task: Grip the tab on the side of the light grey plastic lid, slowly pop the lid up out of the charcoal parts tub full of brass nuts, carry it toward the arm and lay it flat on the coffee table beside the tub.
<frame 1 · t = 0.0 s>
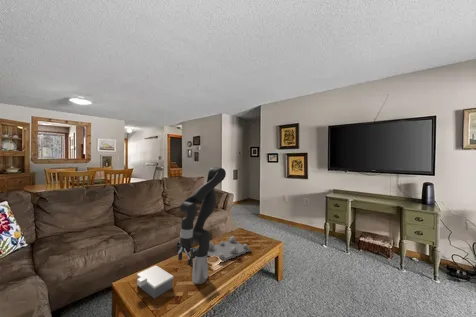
hand: (184, 262, 122), 17 cm above the table, tool pointing down, fingers open, 8 cm apart
tub: (154, 286, 124), on the table
grey knobbed board: (226, 252, 172), on the table
lid: (155, 278, 124), point 5 cm above the table, touching tub
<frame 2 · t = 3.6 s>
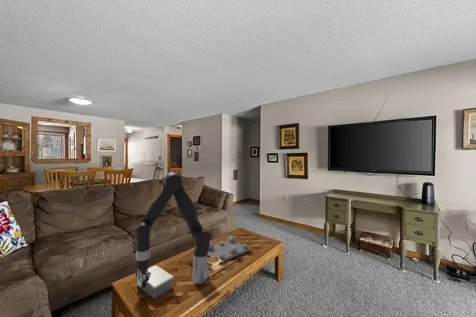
hand: (141, 286, 117), 5 cm above the table, tool pointing down, fingers closed on lid, 3 cm apart
lid: (155, 278, 124), point 5 cm above the table, touching gripper, tub
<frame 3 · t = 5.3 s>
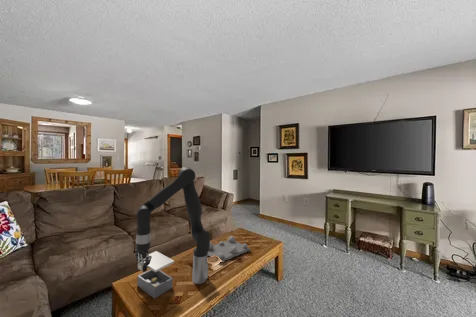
hand: (142, 269, 117), 14 cm above the table, tool pointing down, fingers closed on lid, 3 cm apart
lid: (155, 263, 124), point 14 cm above the table, touching gripper
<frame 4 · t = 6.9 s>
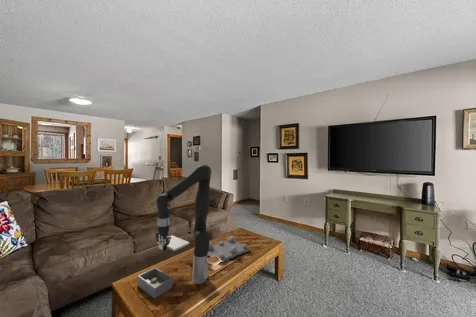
hand: (162, 249, 134), 18 cm above the table, tool pointing down, fingers closed on lid, 3 cm apart
lid: (173, 244, 141), point 18 cm above the table, touching gripper
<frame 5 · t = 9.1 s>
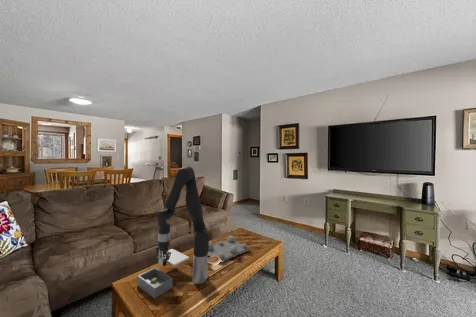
hand: (162, 264, 135), 8 cm above the table, tool pointing down, fingers closed on lid, 3 cm apart
lid: (172, 259, 142), point 8 cm above the table, touching gripper
when the fingers open (1 cm above the table, at t = 10.7 s): lid drops 1 cm, on the table.
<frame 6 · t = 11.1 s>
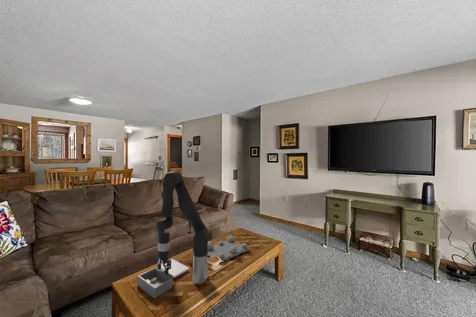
hand: (162, 272, 136), 2 cm above the table, tool pointing down, fingers open, 7 cm apart
lid: (172, 269, 142), on the table
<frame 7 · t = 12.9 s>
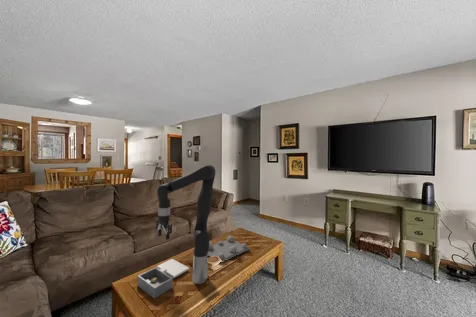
hand: (163, 237, 137), 25 cm above the table, tool pointing down, fingers open, 8 cm apart
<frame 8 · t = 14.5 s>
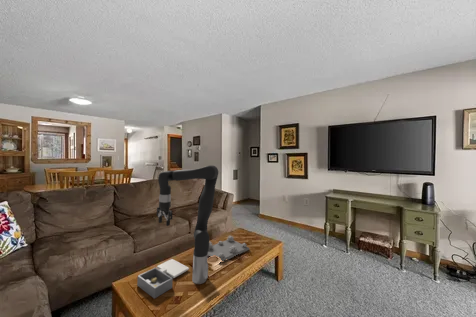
hand: (164, 224, 139), 33 cm above the table, tool pointing down, fingers open, 8 cm apart
at the end: lid touching table; lid inside the target area (1.3 cm from its centre), on the table; the gripper is holding nothing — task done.
